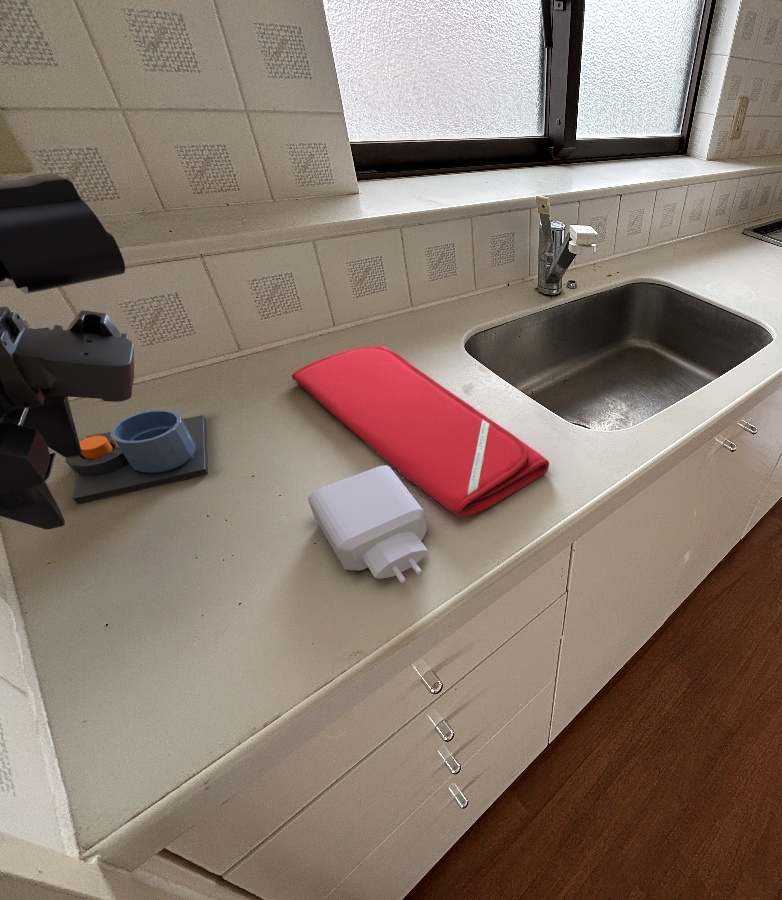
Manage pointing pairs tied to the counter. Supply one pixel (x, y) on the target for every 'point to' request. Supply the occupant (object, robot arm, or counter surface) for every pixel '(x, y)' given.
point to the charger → (372, 523)
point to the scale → (120, 477)
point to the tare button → (95, 447)
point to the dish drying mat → (422, 428)
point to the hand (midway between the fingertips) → (65, 488)
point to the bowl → (154, 440)
